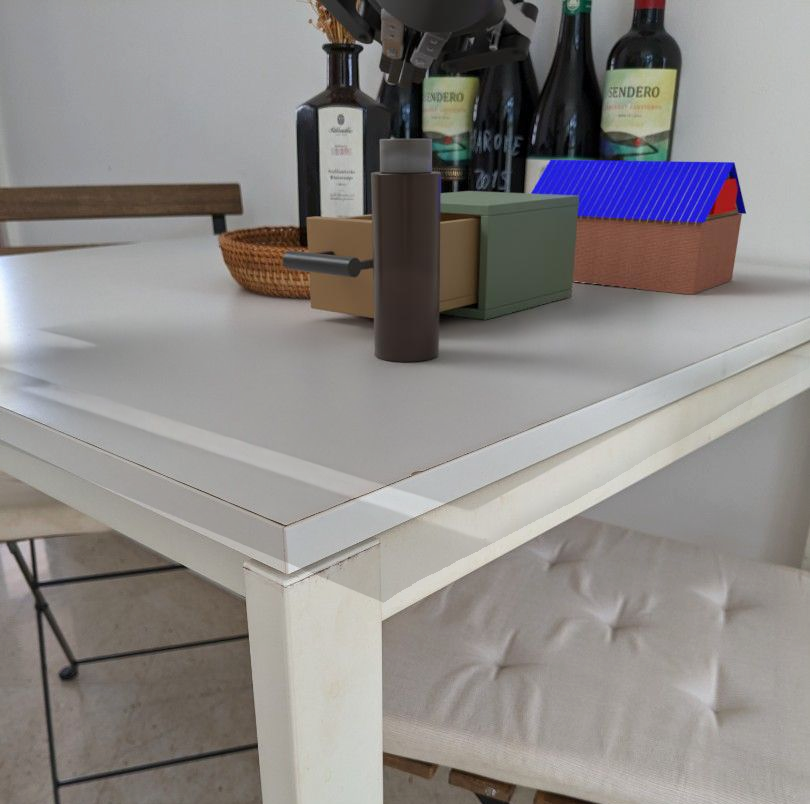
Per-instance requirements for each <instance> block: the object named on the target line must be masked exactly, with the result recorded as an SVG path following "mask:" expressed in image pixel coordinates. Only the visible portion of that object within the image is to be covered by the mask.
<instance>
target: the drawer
mask: <svg viewBox="0 0 810 804" xmlns="http://www.w3.org/2000/svg"><path fill="white" fill-rule="evenodd" d="M481 216H482V215H467V214H451V213H441V216H440V299H439V312H441V311H446V310H450V309H454V308H458V307H462V306H466V305H470V304H474V303H478V298H479V266H480V234H481ZM306 234H307V236H306V238H307V251H298V250H286V251H285V252H284V253H283V257H282V264H283V266H284V268H285V269H287V270H292V271H298V272H299V271H300V272H307V273H308V275H309V295H310V308H311V309H314V310H320V311H325V312H333V313H339V314H344V315H351V316H357V317H364V318H369V319H370V318H371V319H374V294H373V244H372V213H370V214H362V215H360V214H359V215H351V216H340V217H334V216H333V217H331V216H318V215H315V216H307V217H306Z"/></svg>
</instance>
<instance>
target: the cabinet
mask: <svg viewBox="0 0 810 804" xmlns="http://www.w3.org/2000/svg"><path fill="white" fill-rule="evenodd" d="M578 204H579V196H577V195H553V194H531V193H527V192H526V193H525V192H500V191H477V190H464V191H453V192H452V191H451V192H441V213H451V214H467V215H482V216H481V234H480V266H479V298H478V303H474V304H470V305H466V306H462V307H458V308H454V309H450V310H446V311H441V312H439V315H440V314H441V315H448V316H455V317H460V318H469V319H475V320H481V321H486V320H490V319H494V318H498V317H502V316H505V314H506V315H509V314H513V313H516V311H517V312H520V311H524V310H528V309H531V307H532V308H535V307H538V305H539V306H542V304H543V305H546V304H550V303H553V302H552V301H554V302H557V301H556V300H558V301H560V299H561V300H565V299H568V298H567V297H569V298H571V297H572V294H573V284H574V282H573V271H574V258H575V245H576V232H577V218H578ZM570 296H571V297H570ZM564 298H565V299H564ZM527 308H528V309H527ZM523 309H524V310H523ZM512 312H513V313H512Z"/></svg>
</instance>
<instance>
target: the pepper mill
mask: <svg viewBox="0 0 810 804" xmlns="http://www.w3.org/2000/svg"><path fill="white" fill-rule="evenodd" d="M370 188H371V189H370V191H371V214H372V244H373V294H374V318H373V331H374V332H373V337H374V340H373V341H374V356H375V357H376V358H377V359H379V360H384V361H389V362H397V363H398V362H399V363H414V362H415V363H416V362H424V361H429V360H433V359H435V358H437V357H438V356H439V355H440V313H439V299H440V216H441V193H442V172H440V171H433V139H432V138H380V139H379V171H374V172H371V173H370Z"/></svg>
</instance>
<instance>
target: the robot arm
mask: <svg viewBox="0 0 810 804" xmlns="http://www.w3.org/2000/svg"><path fill="white" fill-rule="evenodd" d="M317 1H318V3H319V4H321V5H322V7H323V8H324V9H325V10H326V11H327V12H328V13H329V14H330V15H331V16H332V17H333V18H334V19H335V20H336V21H337V22H338V23H339V25H341V27H343V29H345V31H346V32H347V33H348V34H349V35H350V36H351V37H352V38H353V39H354V40H355V41H357V42H358V43H361V44H364V45H371V44H373V43H374V41H375V42H377V43H378V44H379V45H380V46H381V54H380V59H379V64H378V68H379V70H380V72H381V73H384V74H386V75H388V77H387V80H386V81H387V83H389V84H392V85H395V86H398V87H401V88H403V89H406V90H410V88H411V84H412V83H415V84H418V85H419V84H421V83H423V82H424V80H425V77H426V75H427V73H428V69H430V67H431V65H432V64H433V63H435V62H439V63H441V65H440V67H441V68H442V70H444V71H445V72H447V73H451V74H462V73H467V72H471V71H475V70H480V69H481V70H482V69H486V68H490V67H495V66H501V65H505V64H506V65H507V64H510V63H516V62H520V61H525V60H526V59H527V58H528V55H529V50H530V47H531V44H532V41H533V38H534V37H533V36H534V32H535V29H536V24H537V19H538V15H539V8H538V6H537V5H535V4H534V3H532V2H528V1H521V2H517V3H513V2H512V1H511V0H359V1H360V2H359V7H358V10H357V3H358V0H317ZM470 39H473V41H472V45H471V46H470V47H469V48H467V47H468V43H469V40H470Z"/></svg>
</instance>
